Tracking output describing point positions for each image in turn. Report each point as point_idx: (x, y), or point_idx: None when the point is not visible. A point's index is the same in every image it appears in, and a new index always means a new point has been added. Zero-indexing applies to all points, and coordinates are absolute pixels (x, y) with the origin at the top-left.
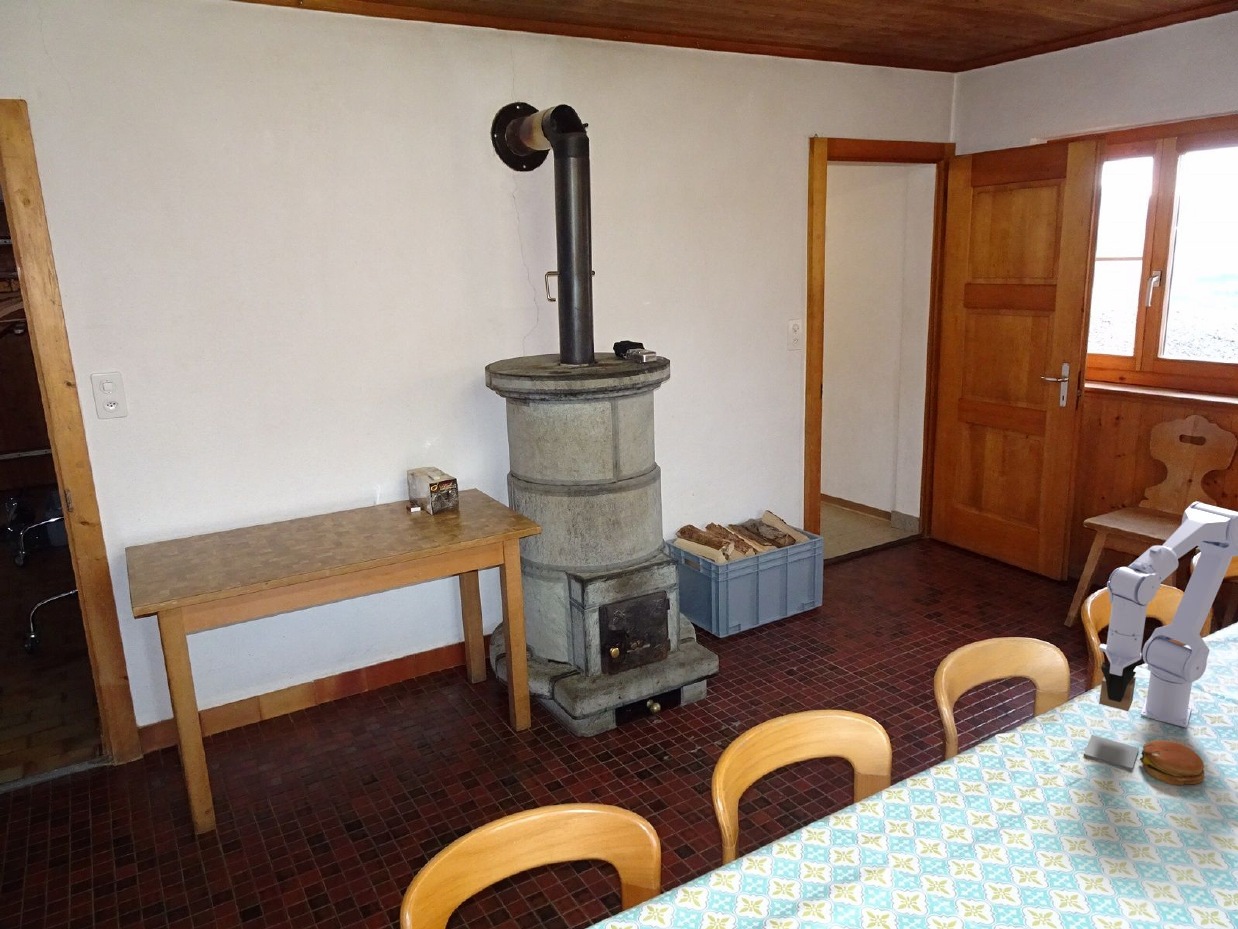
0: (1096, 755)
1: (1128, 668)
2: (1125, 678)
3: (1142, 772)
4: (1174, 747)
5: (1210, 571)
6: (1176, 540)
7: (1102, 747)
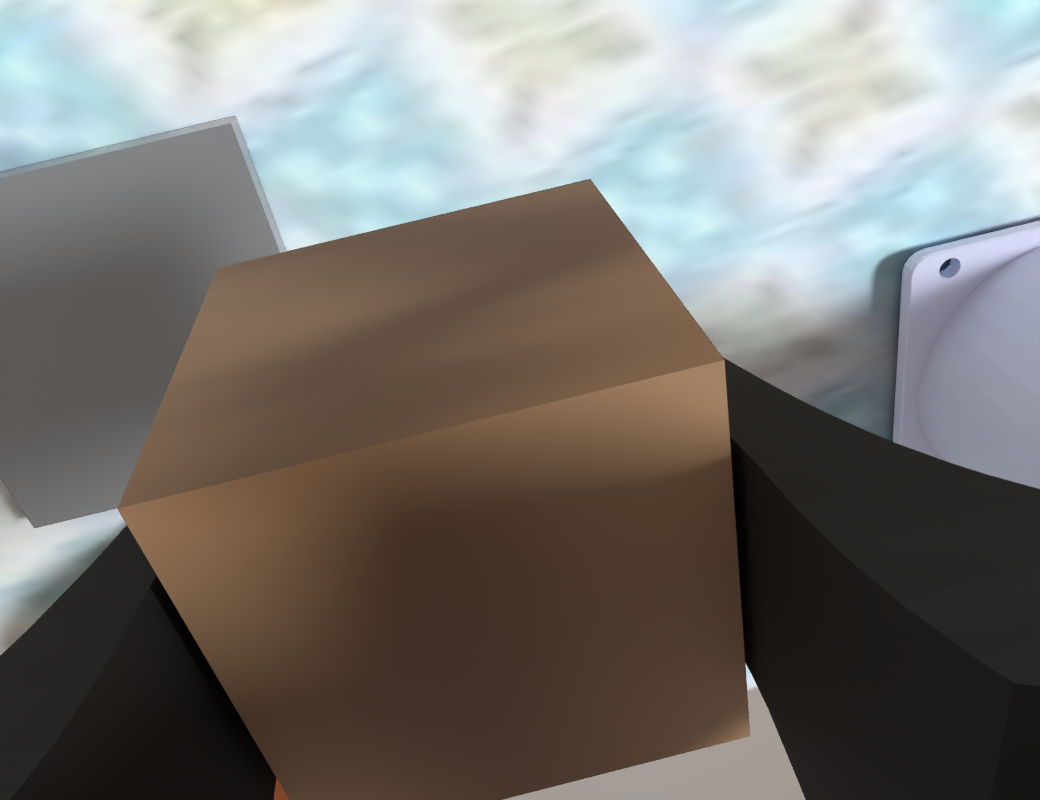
0: None
1: (815, 778)
2: None
3: (103, 550)
4: None
5: None
6: None
7: (102, 281)
